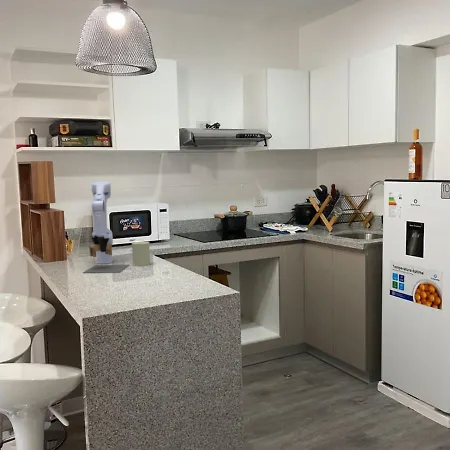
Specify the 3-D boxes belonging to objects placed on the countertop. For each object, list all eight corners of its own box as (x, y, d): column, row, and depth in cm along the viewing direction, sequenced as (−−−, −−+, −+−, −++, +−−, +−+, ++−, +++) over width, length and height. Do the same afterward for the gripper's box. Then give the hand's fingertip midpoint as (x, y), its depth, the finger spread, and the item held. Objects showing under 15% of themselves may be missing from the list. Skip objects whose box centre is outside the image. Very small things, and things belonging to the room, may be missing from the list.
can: (133, 266, 262) (132, 243, 261) (131, 263, 271) (130, 241, 270) (151, 265, 265) (150, 242, 264) (149, 262, 274) (148, 240, 273)
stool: (107, 253, 262) (107, 243, 262) (112, 254, 258) (111, 243, 258) (89, 256, 256) (88, 245, 255) (93, 257, 252) (93, 245, 252)
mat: (95, 265, 267) (95, 265, 267) (129, 265, 266) (129, 264, 266) (83, 273, 247) (82, 272, 247) (119, 272, 246) (119, 271, 246)
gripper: (85, 224, 259) (87, 250, 260) (98, 226, 248) (99, 253, 249) (98, 223, 263) (100, 249, 265) (111, 224, 252) (113, 252, 253)
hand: (100, 251), depth 257 cm, fingers closed on stool, 5 cm apart
